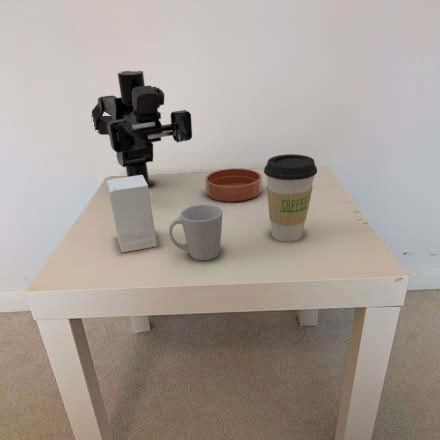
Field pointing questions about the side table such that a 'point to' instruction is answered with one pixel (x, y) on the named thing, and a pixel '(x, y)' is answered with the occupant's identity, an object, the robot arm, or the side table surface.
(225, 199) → the bowl
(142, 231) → the white packaging box
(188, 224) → the cup
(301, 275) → the side table surface
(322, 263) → the side table surface
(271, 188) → the coffee cup
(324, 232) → the side table surface
